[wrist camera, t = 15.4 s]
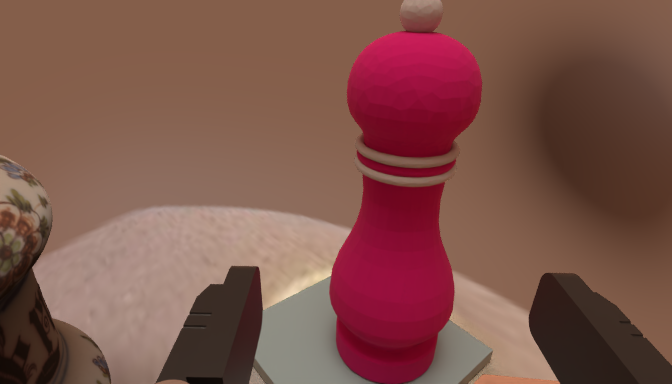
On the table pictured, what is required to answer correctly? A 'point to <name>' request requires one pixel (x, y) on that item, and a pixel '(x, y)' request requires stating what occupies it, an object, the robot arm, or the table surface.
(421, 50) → the pepper mill
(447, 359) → the board
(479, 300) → the table surface
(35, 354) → the apothecary jar
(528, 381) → the holder ring
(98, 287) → the table surface
